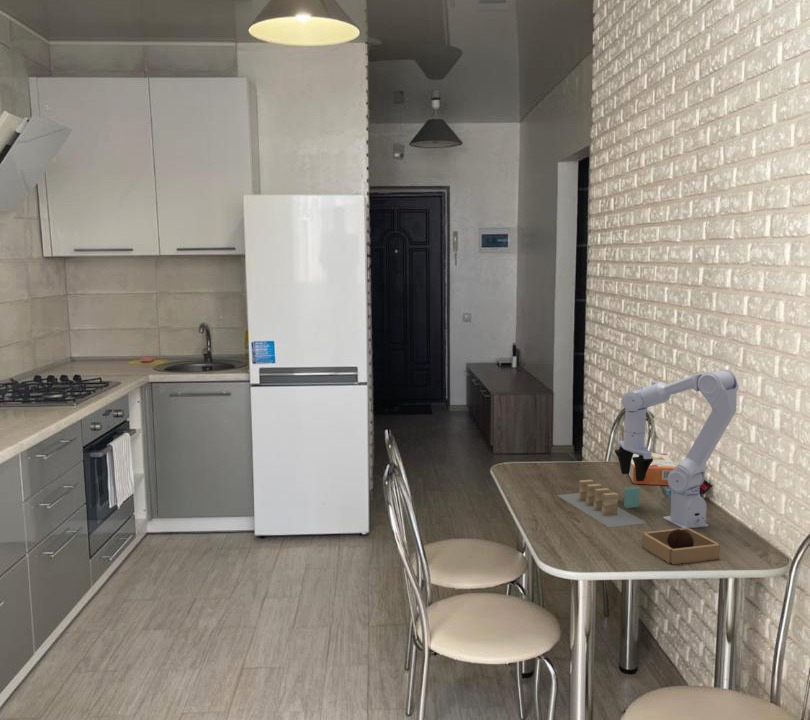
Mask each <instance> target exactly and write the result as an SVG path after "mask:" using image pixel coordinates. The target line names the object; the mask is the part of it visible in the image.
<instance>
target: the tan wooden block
mask: <svg viewBox="0 0 810 720" xmlns="http://www.w3.org/2000/svg"><path fill="white" fill-rule="evenodd" d="M610 491H611V490H610V489H609V488H607V487H604V488H602V487H601V489H594V510H596V511H601V510H602V496H603V494H604V493H611V492H610Z"/></svg>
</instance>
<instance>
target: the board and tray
mask: <svg viewBox="0 0 810 720" xmlns="http://www.w3.org/2000/svg"><path fill="white" fill-rule="evenodd" d="M556 496H557V497H558V498H560V499H562V500H564V502H567V503H568V504H570V505H571V506H573V507H575V508H576V509H578V510H580V511H581V512H583V513H584V514H586V515H587V516H589V517H591V518H593V519H595V520H596V521H598V522H599V523H601V524H602V525H604V526H606V528H607V527H608V528H616V527H626V526H635V525H644V524H645V525H646V524H647V522H646V521H644V520H642V519H641V518H639V517H637V516H635V515H633V514H632V513H630V512H628V511H626V510H624V509H622V508H621V507H619V506H618V508H617V515H608V516H604V515H603V514H602V510H601V511H596V510H594V506H587V505H586V501H582V502H581V501H579V500H578V492H577V493H576V492H575V493H567V494H566V493H565V494H557V495H556ZM676 529H682V530H685V531H687V532H689V533H690V534H691V535H692V537H693V540H694V545H693V547H685V548H677V549H672V548H671V547H669V545H668V542H667V538H668V536H669V534H670V532H672V531H673V530H676ZM641 540H642V541H641V546H642V548H643V549H645V550H646V551H648V552H650V553H651V554H653V555H654V556H656V557H658V558H660V559H661V560H663V561H664V560H665V561H664V562H666V561H667V563H668V564H671V563H672V565H673V564H675V565H682V564H681V563H683V564H689V563H690V564H691V563H698V562H704V561H705V562H706V561H714V560H720V550H721V547H720V546H721V544H720V543H719V542H717V541H715V540H714V539H711V538H709V537H707V536H705V535H704V534H701V532H700V533H699V532H697V531H696V530H694V529H693V528H681V527H679V528H669V529H661V530H653V531H651V530H650V531H643V532H642V538H641ZM667 545H668V546H667Z"/></svg>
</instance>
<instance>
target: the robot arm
mask: <svg viewBox="0 0 810 720" xmlns="http://www.w3.org/2000/svg"><path fill="white" fill-rule="evenodd" d="M739 387H740V384H739V382H738V379H737V378H736V376H735V374H734V373H733V372H732V371H731V370H728V369H725V368H724V369H719V370H717V371H715V370H714V371H709V372H702V373H696V374H691V375H689V376H686V377H682V378H681V379H677V380H675V381H672V382H671V383H668V384H667V383H665V382H662V381H657V380H656V381H653V382H652V381H651V384H650V385H647V386H645V387H643V386H639V387H637V390H629V391H627V392H625V393H624V394H623V396H622V397H621V404H622V407H623V408H624V410H625V412H624V413H625V414H624V436H623V438H624V439H623V440H618V441H616V442H617V447H616V448H619V449H615V450H614V454H616V456H617V459H618V463H619V466H620V470H621V471H620V472H621V474H622V475H629V472H630V466H631V460H632V459H633V461H634V464H635V471H636V481H644V478H645V475H646V472H647V470H648V468H649V466H650V464H651V463H652V461H653V458H651V453H653V452H652V451H650V450H649V449H648V445H645V437H646V417H647V412H648V411H647V410H648V408H650V407H653V406H657V405H659V404H664V403H666V402H669V400H670V399H671V397H672V395H676V394H679V393H682V392H687V391H689V390H693V391H695V392H700V393H701V394H702V396H703V398H704V399H705V400H706V402H708V404H709V405H710V407H711V409H712V410H711V412H710V414H709V416H708V417H707V419H706V421H705V423H704V425H703V426H702V428H701V430H699V431H700V432H699V433H698V435H697V437H696V438H695V440H694V442H693V443H692V446H691V448H690V449H689V451H688V452H687V455H686V456H685V458H683V460H681V461H680V462H679V463H678V464H677V466H676V469H674V470H673V471H671V472H670V473H669V475H668V478H667V481H668V485H667V486H669V488H670V489H671V490H670V491H671V495H670V515H668V516H663V519H665V520H666V521H668V522H670V523H672V524H674V525H676V526H678V527H679V528H688V529H693V528H704V527H709V524H708V523H706V521H707V508H708V506H707V502H706V500H705V499H704V498H703V497H702V496H701V494H700V490H701V489H700V488H701V487H700V486H701V485H702V484H703V483H704V482H705V473H706V471H707V470H708V467H707V465H706V464H707V462H708V461H709V460H710V457H711V456H712V454H713V452H714V450H715V449H716V447H717V445H718V444H719V442H720V439H721V438H722V437H723V435H724V434H725V431H726V429H728V426H729V425H730V422H731V421H732V419H733V417H734V416H735V413H736V411H737V391H738V389H739ZM633 454H637V455H639V457H633Z"/></svg>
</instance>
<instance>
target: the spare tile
mask: <svg viewBox="0 0 810 720" xmlns="http://www.w3.org/2000/svg"><path fill="white" fill-rule="evenodd" d="M640 490H641V489H640V487H638V486H630V487H629V486H628V487H624V493H623V494H624V496H623V499H624V500H623V507H624V508H626V509H631V508H639V507H640Z"/></svg>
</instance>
